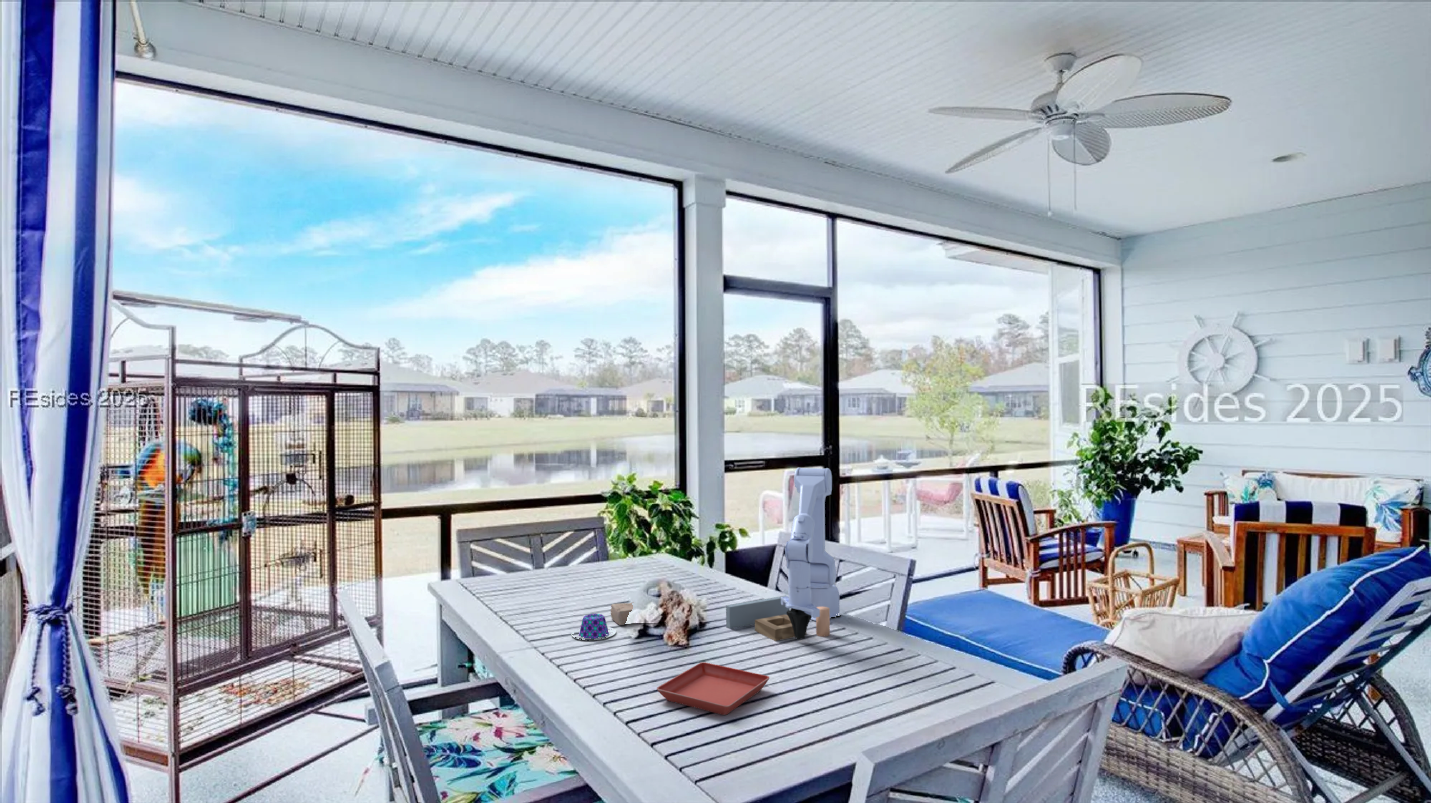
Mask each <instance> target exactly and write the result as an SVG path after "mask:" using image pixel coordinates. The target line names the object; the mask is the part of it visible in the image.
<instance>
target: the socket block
mask: <svg viewBox="0 0 1431 803" xmlns="http://www.w3.org/2000/svg"><path fill="white" fill-rule="evenodd" d="M754 631H755V632H756V633H759V634H761V635H762V636H765V637H766V638H768V639H770V640H773V641H774V642H778V641H782V640H783V641H784V640H787V639H793V638H795V635H794V631H793V627H792V624H791V621H790V619H789V617H788V615H779V616H774V617H768V618H763V619H757V620H755V624H754ZM805 636H807V633H806V634H805Z"/></svg>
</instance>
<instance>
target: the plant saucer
mask: <svg viewBox="0 0 1431 803" xmlns="http://www.w3.org/2000/svg"><path fill="white" fill-rule="evenodd" d="M770 678H771V677H770V676H769V675H766V674H765V675H764V674H761V673H757V672H752V671H747V670H742V669H737V668H733V667H729V666H723V665H718V664H715V663H710V662H706V661H705V662H704V661H703V662H699V663H697V664H696V665H694V666H692V667H691V668H689V669H687V670H684V671H683V672H681V673H680V674H678V675H676V676H674V677H673V678H671V679H669V680H668V681H666V682H664V683H663V684H660V685H659V686H657V687H656V690H657V691H658V693H659V694H660V695H661V696H662V697H663V698H664V699H665V700H667V701H668V702H672V703H675V702H676V703H675V704H678V705H679V704H680V705H683V706H687V707H692V708H694V707H695V708H694V709H699V710H704V711H707V712H711V713H714V714H718V715H721V716H722V715H723V716H727V715H728V714H729V713H731V712H733V711H735V709H737V708H738V707H739V706H741V705H742V704H743V703H745V702H747V701H748V700H749V699H751V698H752V697H754V696H756V694H759V692H760V691H761V690H762V689H763V688H764V687H765V686H766V684H767V683H768V681H769V679H770Z"/></svg>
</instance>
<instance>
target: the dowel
mask: <svg viewBox="0 0 1431 803" xmlns="http://www.w3.org/2000/svg"><path fill="white" fill-rule="evenodd" d="M817 608H818V609H820V617H816V621H815V625H816V626H815V634H816V636H818V637H825V638H826V637H830V635H831V632H830V631H831V630H830V629H831V626H830V625H831V624H830V621H831V618H830V608H828V607H817Z"/></svg>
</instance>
